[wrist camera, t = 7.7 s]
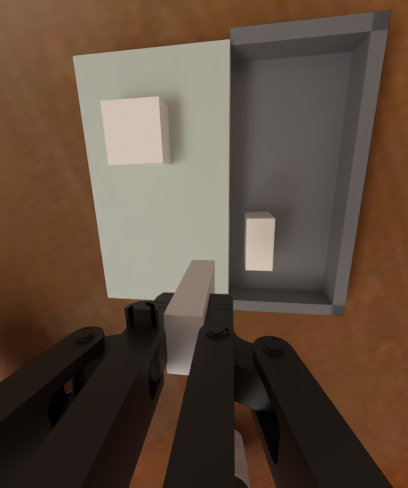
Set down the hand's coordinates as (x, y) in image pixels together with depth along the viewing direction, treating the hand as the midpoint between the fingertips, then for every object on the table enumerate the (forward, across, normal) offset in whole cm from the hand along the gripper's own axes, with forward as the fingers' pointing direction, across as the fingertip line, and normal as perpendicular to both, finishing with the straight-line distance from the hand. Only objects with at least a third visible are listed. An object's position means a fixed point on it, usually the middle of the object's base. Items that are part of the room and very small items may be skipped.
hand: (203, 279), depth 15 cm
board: (+13, +5, -5) cm, 15 cm away
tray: (+12, -8, -6) cm, 16 cm away
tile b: (+9, +6, -10) cm, 15 cm away
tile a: (+10, -3, 0) cm, 10 cm away
